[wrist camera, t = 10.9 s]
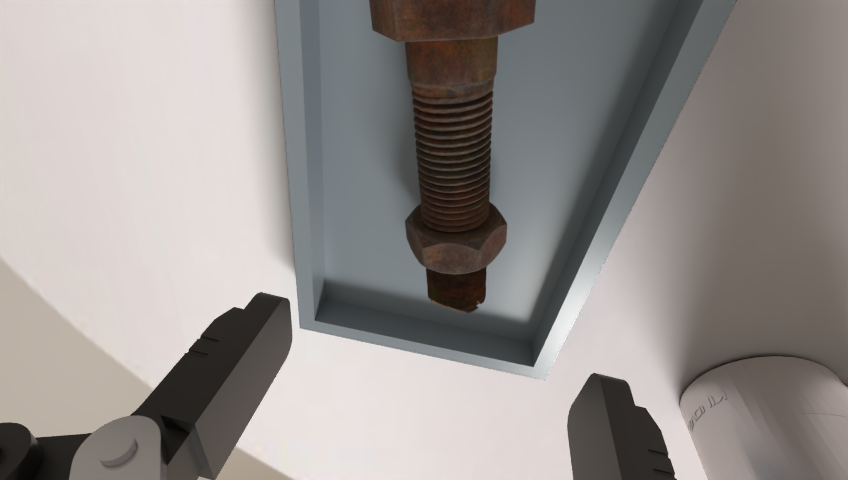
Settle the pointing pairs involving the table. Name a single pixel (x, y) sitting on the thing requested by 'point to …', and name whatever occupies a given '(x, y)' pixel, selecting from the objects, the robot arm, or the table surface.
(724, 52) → the table surface
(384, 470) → the table surface
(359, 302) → the tray
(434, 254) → the bolt
